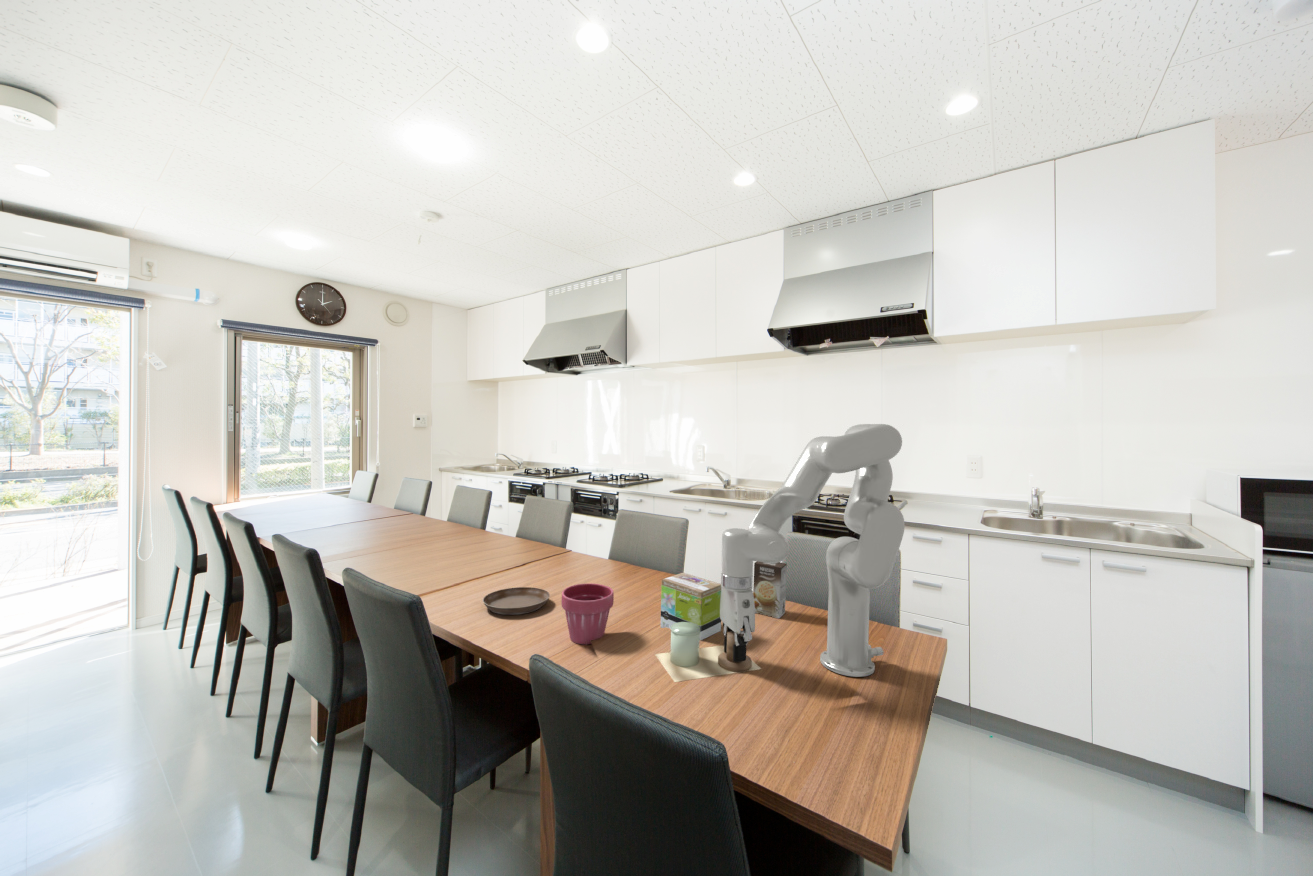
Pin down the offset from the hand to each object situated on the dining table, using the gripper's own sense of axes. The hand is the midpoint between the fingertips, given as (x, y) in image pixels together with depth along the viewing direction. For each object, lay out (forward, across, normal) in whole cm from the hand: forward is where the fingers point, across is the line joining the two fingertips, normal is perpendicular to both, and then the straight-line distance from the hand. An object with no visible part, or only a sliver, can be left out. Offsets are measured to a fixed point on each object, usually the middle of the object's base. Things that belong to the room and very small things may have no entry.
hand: (734, 655), depth 117 cm
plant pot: (+3, +27, +31) cm, 41 cm away
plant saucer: (+4, +57, +48) cm, 75 cm away
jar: (+2, +5, +11) cm, 12 cm away
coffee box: (+3, +30, -28) cm, 41 cm away
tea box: (+3, +23, +2) cm, 23 cm away
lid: (+2, 0, 0) cm, 2 cm away
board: (+3, +3, +6) cm, 7 cm away
